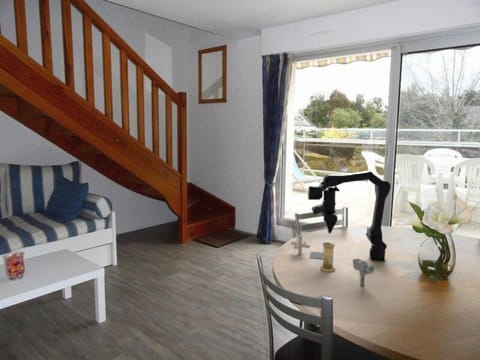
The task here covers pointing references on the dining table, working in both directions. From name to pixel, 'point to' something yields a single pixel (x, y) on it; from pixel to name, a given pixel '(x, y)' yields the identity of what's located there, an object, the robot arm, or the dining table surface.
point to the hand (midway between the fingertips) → (328, 230)
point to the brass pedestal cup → (328, 257)
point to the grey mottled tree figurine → (362, 269)
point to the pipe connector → (300, 245)
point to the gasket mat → (316, 255)
